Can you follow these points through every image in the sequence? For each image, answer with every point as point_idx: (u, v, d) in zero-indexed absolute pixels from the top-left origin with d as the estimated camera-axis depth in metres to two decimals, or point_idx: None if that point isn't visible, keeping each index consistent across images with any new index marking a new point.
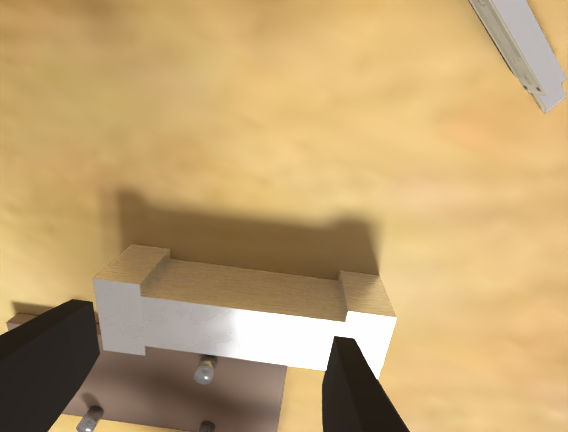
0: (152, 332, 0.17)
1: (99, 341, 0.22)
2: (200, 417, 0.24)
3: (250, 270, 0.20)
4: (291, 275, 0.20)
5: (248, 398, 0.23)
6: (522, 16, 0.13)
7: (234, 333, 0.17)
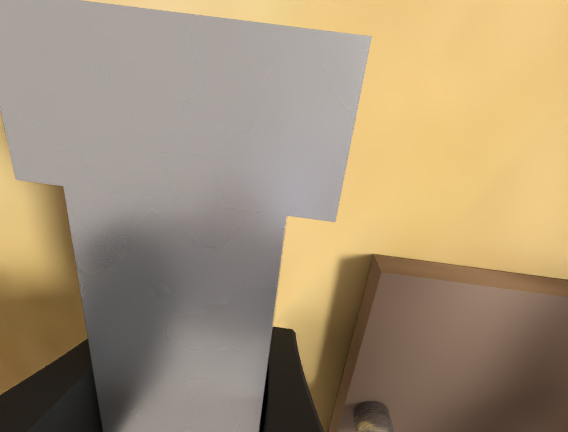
0: None
1: None
2: None
3: None
4: None
5: (504, 361, 0.09)
6: None
7: None
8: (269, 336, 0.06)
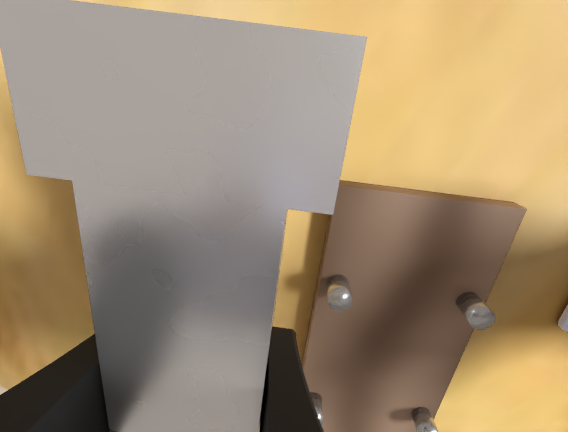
0: None
1: (310, 386, 0.20)
2: (447, 307, 0.17)
3: None
4: None
5: (413, 243, 0.16)
6: None
7: (180, 431, 0.07)
8: (270, 326, 0.06)
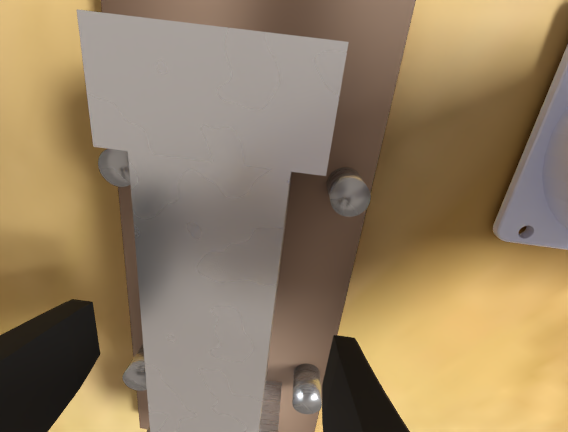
0: None
1: None
2: (316, 197, 0.11)
3: None
4: None
5: None
6: None
7: (203, 363, 0.09)
8: (277, 269, 0.07)
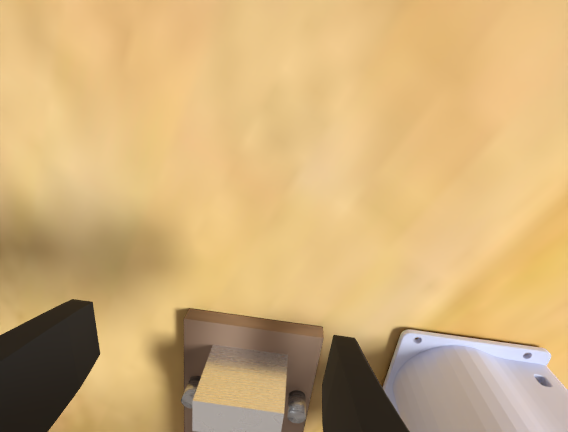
0: None
1: None
2: None
3: None
4: None
5: None
6: None
7: None
8: None
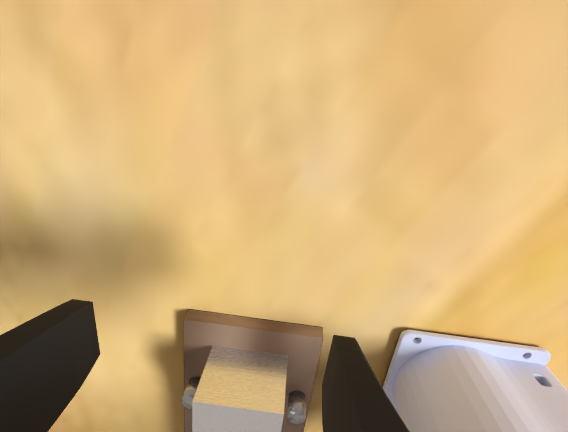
0: None
1: None
2: None
3: None
4: None
5: None
6: None
7: None
8: None
